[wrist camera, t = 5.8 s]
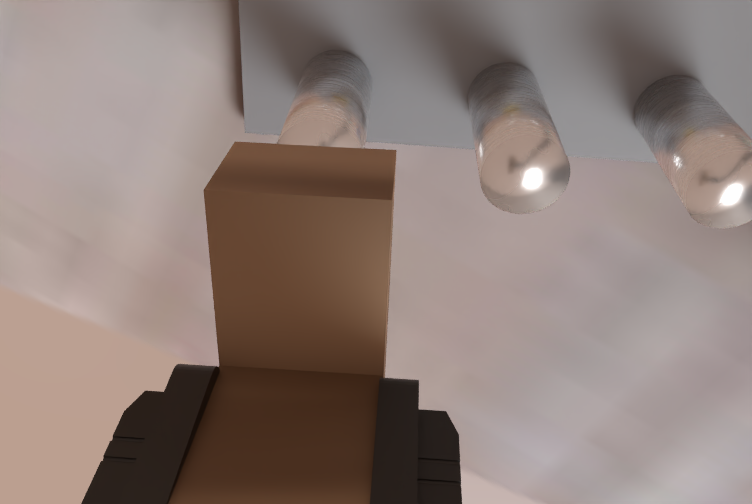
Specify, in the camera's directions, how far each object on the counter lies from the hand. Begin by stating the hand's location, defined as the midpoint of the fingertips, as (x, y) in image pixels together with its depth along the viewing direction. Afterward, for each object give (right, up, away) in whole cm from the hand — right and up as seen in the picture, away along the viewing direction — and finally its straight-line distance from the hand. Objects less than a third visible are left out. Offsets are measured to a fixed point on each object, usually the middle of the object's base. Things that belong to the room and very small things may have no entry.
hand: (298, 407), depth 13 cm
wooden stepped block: (0, 0, +2) cm, 3 cm away
